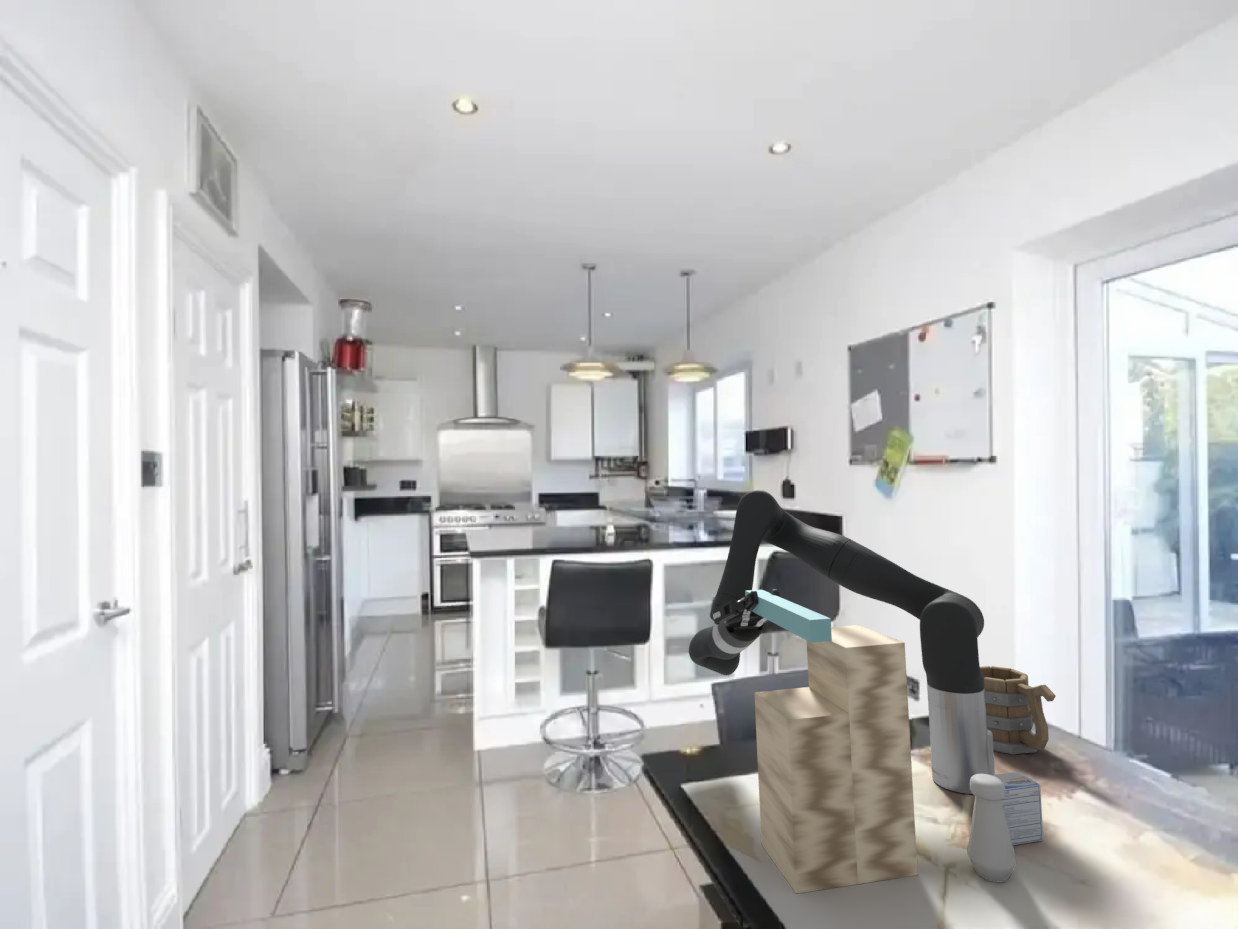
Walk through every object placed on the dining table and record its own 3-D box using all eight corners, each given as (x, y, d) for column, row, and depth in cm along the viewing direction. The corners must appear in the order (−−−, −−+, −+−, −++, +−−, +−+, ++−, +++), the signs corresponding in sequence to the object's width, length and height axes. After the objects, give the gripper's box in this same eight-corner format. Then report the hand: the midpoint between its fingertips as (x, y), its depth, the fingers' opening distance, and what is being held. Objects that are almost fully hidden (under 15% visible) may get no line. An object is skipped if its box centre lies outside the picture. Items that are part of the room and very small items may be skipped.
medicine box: (1020, 826, 98) (1017, 770, 98) (1044, 842, 94) (1041, 783, 94) (976, 833, 97) (972, 776, 97) (998, 849, 92) (994, 789, 93)
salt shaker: (1024, 888, 83) (1018, 789, 84) (977, 884, 84) (971, 786, 85) (1006, 862, 89) (1001, 769, 89) (962, 859, 90) (957, 767, 91)
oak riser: (869, 829, 99) (858, 624, 100) (917, 874, 87) (904, 642, 88) (761, 844, 96) (751, 633, 97) (796, 893, 84) (784, 653, 85)
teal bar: (762, 607, 108) (761, 589, 108) (831, 640, 84) (830, 618, 84) (745, 608, 107) (745, 590, 108) (810, 642, 84) (810, 620, 84)
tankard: (953, 732, 135) (949, 661, 136) (1007, 727, 136) (1003, 657, 137) (1023, 773, 115) (1018, 691, 116) (1085, 767, 117) (1080, 686, 117)
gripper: (696, 611, 118) (720, 576, 103) (767, 606, 120) (800, 571, 105) (704, 651, 114) (730, 620, 99) (776, 645, 116) (812, 614, 102)
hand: (766, 595), depth 102 cm, fingers closed on teal bar, 3 cm apart
